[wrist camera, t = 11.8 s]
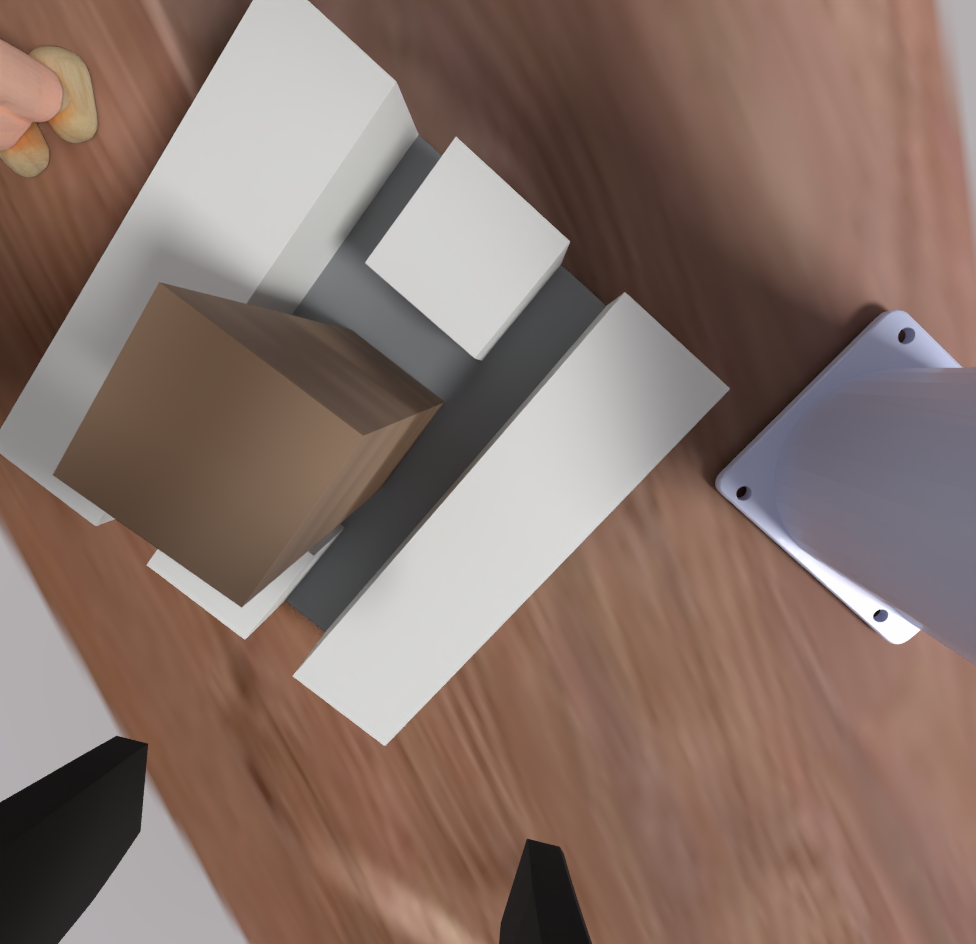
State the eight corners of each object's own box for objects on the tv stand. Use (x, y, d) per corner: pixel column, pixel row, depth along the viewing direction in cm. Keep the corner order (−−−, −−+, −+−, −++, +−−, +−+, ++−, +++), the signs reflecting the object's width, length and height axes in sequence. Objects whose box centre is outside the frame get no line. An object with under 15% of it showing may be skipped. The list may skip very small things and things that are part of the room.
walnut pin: (444, 402, 17) (363, 435, 8) (380, 488, 17) (241, 607, 9) (351, 330, 16) (159, 282, 8) (290, 422, 17) (52, 474, 8)
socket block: (686, 385, 17) (730, 388, 13) (407, 681, 20) (384, 746, 16) (326, 57, 15) (272, -33, 12) (88, 432, 18) (-10, 446, 15)
